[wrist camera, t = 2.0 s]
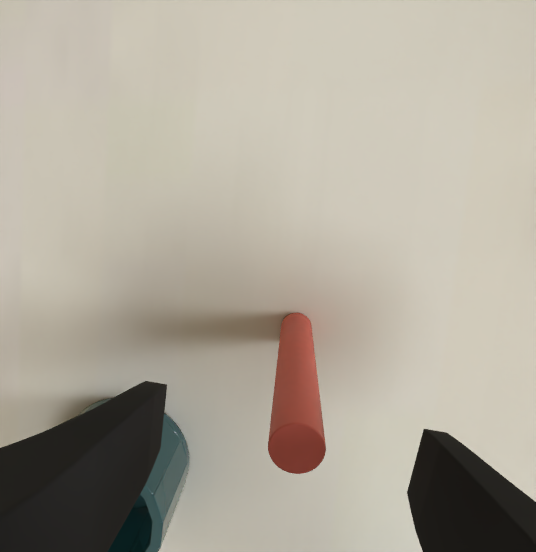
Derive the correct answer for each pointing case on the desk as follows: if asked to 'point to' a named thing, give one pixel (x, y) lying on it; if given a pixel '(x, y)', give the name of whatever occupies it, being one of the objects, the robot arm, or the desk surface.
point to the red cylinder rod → (296, 401)
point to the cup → (155, 494)
